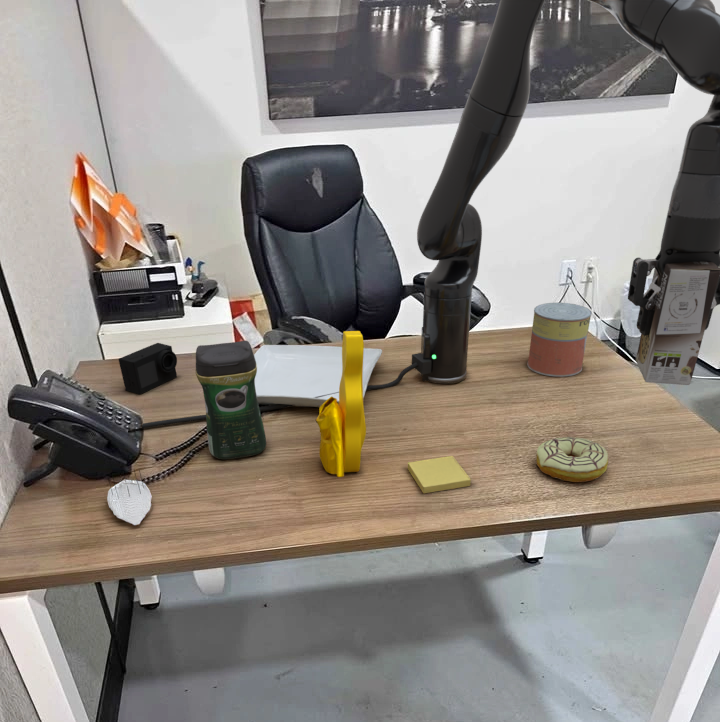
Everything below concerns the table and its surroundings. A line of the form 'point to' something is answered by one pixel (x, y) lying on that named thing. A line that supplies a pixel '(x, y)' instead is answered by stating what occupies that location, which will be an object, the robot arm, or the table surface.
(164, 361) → the digital camera
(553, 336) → the canned food
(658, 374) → the coffee box
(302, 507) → the table surface
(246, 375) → the coffee jar
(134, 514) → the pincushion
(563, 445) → the decorated donut
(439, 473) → the sticky note pad
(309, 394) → the square plate
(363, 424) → the figure statuette
